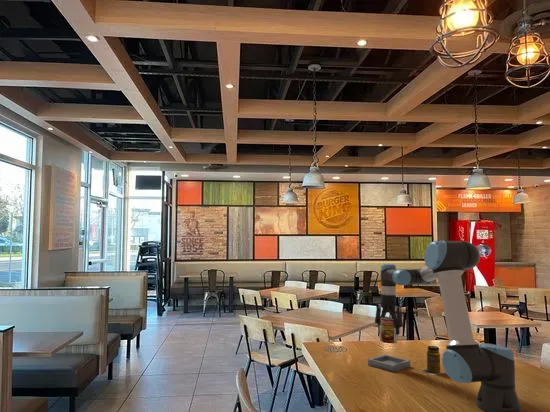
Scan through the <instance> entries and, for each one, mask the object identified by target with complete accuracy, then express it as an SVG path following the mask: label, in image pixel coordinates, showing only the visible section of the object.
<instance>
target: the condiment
mask: <svg viewBox="0 0 550 412" xmlns="http://www.w3.org/2000/svg"><path fill="white" fill-rule="evenodd" d="M421 372H423V373H425V374H427V375H428V374H429V375H432V376H436V375H440V374H444V373H445V371H441V354H440V348H439V346H437V345H428V346H427V351H426V369H422V370H421Z"/></svg>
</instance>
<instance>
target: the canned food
mask: <svg viewBox="0 0 550 412" xmlns="http://www.w3.org/2000/svg"><path fill="white" fill-rule="evenodd" d="M394 328H395V325H394V319H392V316H386V315H385V317H381V338H380V342H381V343H384V344H396V343H398V341H394Z"/></svg>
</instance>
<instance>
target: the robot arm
mask: <svg viewBox="0 0 550 412" xmlns="http://www.w3.org/2000/svg"><path fill="white" fill-rule="evenodd" d="M480 258H481V254H480V251H479V249H478V248H477V247H476V246H475V244H473V243H471V242H468V241H465V240H464V241H463V240H460V241H459V240H458V241H457V240H434V241H432V242H430V243H429V244H428V245H427V247H426V249H425V251H424V259H423V260H424V263H425V264H424V265H425V266H423V267H421V268H414V269H413V268H408V269H407V268H396V267H397V266H396V264H393V263H382V264H381V265H380V294H381V295H380V303H377V304H375V305H376V311H375V318H374V323H375V324H377V325H378V327H377V328H378V332H379V339H381V317H386V315H387V313H388V314H390V317H392V319H394V325H395V328H394V341H397V342H398V341H399V335H400V333H401V332H400V330H401V329H400V328H402V327H404V322H403V316H402V306H397V304H396V303H397V295H396V294H397V286H407V285H424V286H425V285H432V284H433V283H434V281H435V280H438V285H439V291H440V296H441V301H442V308H443V313H444V317H445V323H446V330H447V335H448V342H446V344H445V346H446V347H445V348H446V350H444V351H443V353H442V357H441V364H442V367H443V370H444V373H446V374H447V376H448V377H449V378H450V379H451V380H452V381H454V382H456V383H463V384H470V383H477V382H478V383H479V382H480V385H479V390H478V392H477V395H476V398H475V399H476V400H475V401H476V402H475V403H476V406H477V408H479V409H480V410H482V411H485V412H522V411H523V410H522V404H521V401H520V398H519V396H518V394H517V390H516V369H515V368H516V367H515V364H516V363H515V362H516V360H515V354H514V351H513V350H512V349H511V348H509V347H506V346H502V345H497V344H493V343H485V342H482V343H479V342H478V341H477V340H475V338H474V335H473V332H472V326H471V321H470V316H469V315H470V314H469V310H468V305H467V301H466V295H465V291H464V290H465V289H464V286H463V279H462V275H463V274H464V272H466V271H468V270H471V269H473V268H475V267H477V265H478V264H479V262H480Z"/></svg>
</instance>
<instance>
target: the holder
mask: <svg viewBox="0 0 550 412" xmlns="http://www.w3.org/2000/svg"><path fill="white" fill-rule="evenodd" d="M367 366H370V367H374V368H377V369H381V370H383V371H388V372H390V373H396V372H399V371H402V370H405V369H408V368H411V360H410V359H409V360H408V359H405V358H401V357H398V356H393V355H389V354H381V355H379V356H375V357H372V358H371V357H370V358H368V359H367Z"/></svg>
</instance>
